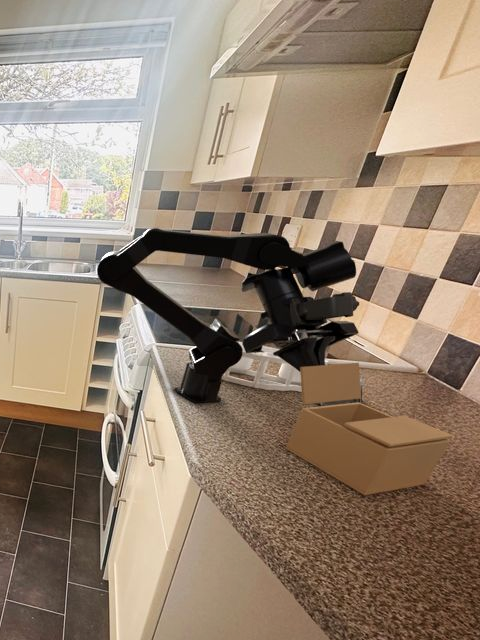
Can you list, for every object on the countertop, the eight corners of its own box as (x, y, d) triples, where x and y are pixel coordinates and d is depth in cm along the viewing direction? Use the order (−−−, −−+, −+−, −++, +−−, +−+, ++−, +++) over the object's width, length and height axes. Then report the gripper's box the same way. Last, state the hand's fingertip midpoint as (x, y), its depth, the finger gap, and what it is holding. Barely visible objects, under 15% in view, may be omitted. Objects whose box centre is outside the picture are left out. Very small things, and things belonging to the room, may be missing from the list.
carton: (285, 448, 68) (304, 403, 65) (339, 441, 71) (360, 397, 68) (364, 495, 58) (391, 444, 54) (424, 484, 61) (454, 435, 57)
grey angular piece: (316, 389, 92) (315, 361, 84) (359, 390, 88) (363, 361, 80) (314, 429, 89) (313, 403, 81) (360, 432, 84) (363, 405, 76)
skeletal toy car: (314, 385, 93) (327, 355, 90) (316, 402, 85) (330, 369, 82) (215, 363, 104) (223, 335, 101) (207, 376, 96) (217, 346, 93)
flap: (305, 404, 65) (302, 404, 65) (361, 398, 68) (358, 398, 68) (302, 366, 65) (299, 367, 65) (359, 362, 68) (356, 362, 68)
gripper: (283, 273, 64) (327, 367, 58) (370, 273, 68) (418, 360, 63) (226, 311, 74) (260, 394, 69) (305, 308, 78) (342, 385, 73)
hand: (320, 383), depth 68 cm, fingers closed
